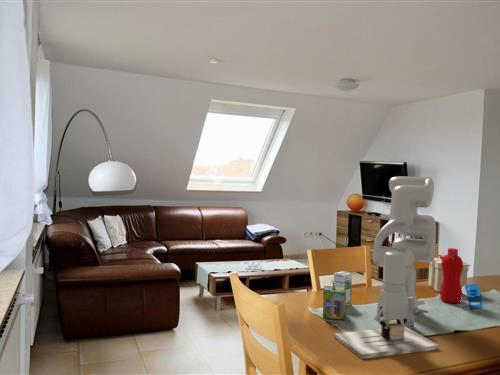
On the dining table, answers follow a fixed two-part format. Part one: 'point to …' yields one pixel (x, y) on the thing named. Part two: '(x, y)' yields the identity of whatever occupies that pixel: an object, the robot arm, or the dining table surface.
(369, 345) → the board
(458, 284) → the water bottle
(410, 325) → the energy drink
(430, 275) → the gift box
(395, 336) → the block
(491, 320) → the dining table surface
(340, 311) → the chalk box
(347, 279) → the syrup box
